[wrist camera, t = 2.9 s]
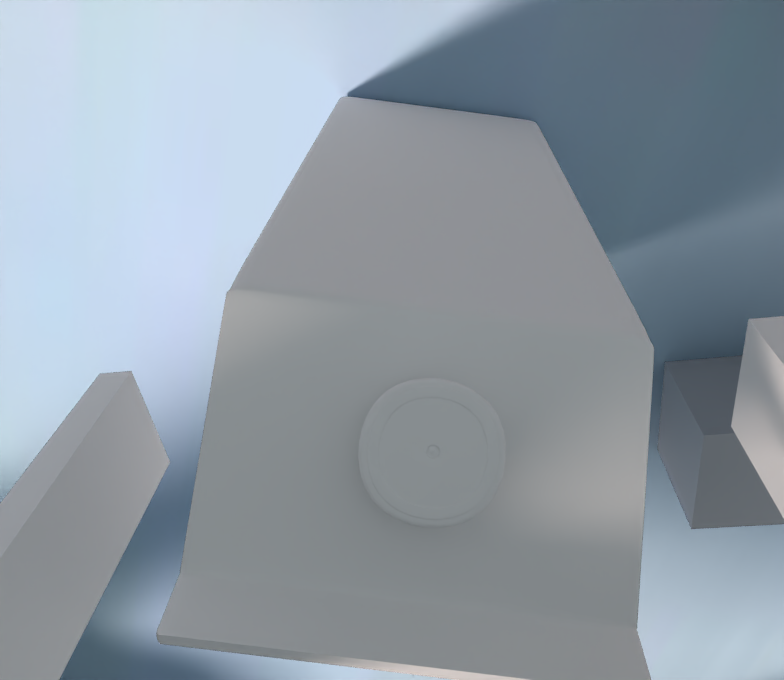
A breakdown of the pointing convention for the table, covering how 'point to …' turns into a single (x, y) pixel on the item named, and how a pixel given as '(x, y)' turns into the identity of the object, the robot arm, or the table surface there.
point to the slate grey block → (709, 447)
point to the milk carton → (424, 418)
